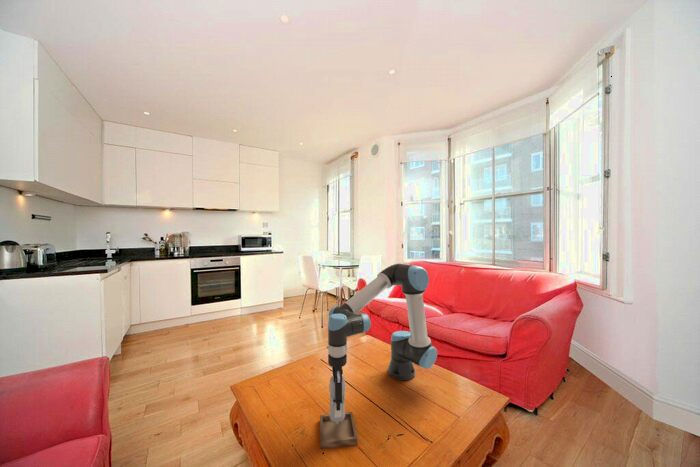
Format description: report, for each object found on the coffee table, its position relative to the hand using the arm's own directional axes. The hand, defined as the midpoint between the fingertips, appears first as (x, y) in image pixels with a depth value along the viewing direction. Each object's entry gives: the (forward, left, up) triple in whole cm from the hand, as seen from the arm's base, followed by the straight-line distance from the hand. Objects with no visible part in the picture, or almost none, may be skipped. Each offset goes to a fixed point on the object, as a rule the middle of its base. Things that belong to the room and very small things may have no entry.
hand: (337, 410), depth 100 cm
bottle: (0, 0, -4) cm, 4 cm away
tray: (0, 0, -9) cm, 9 cm away
